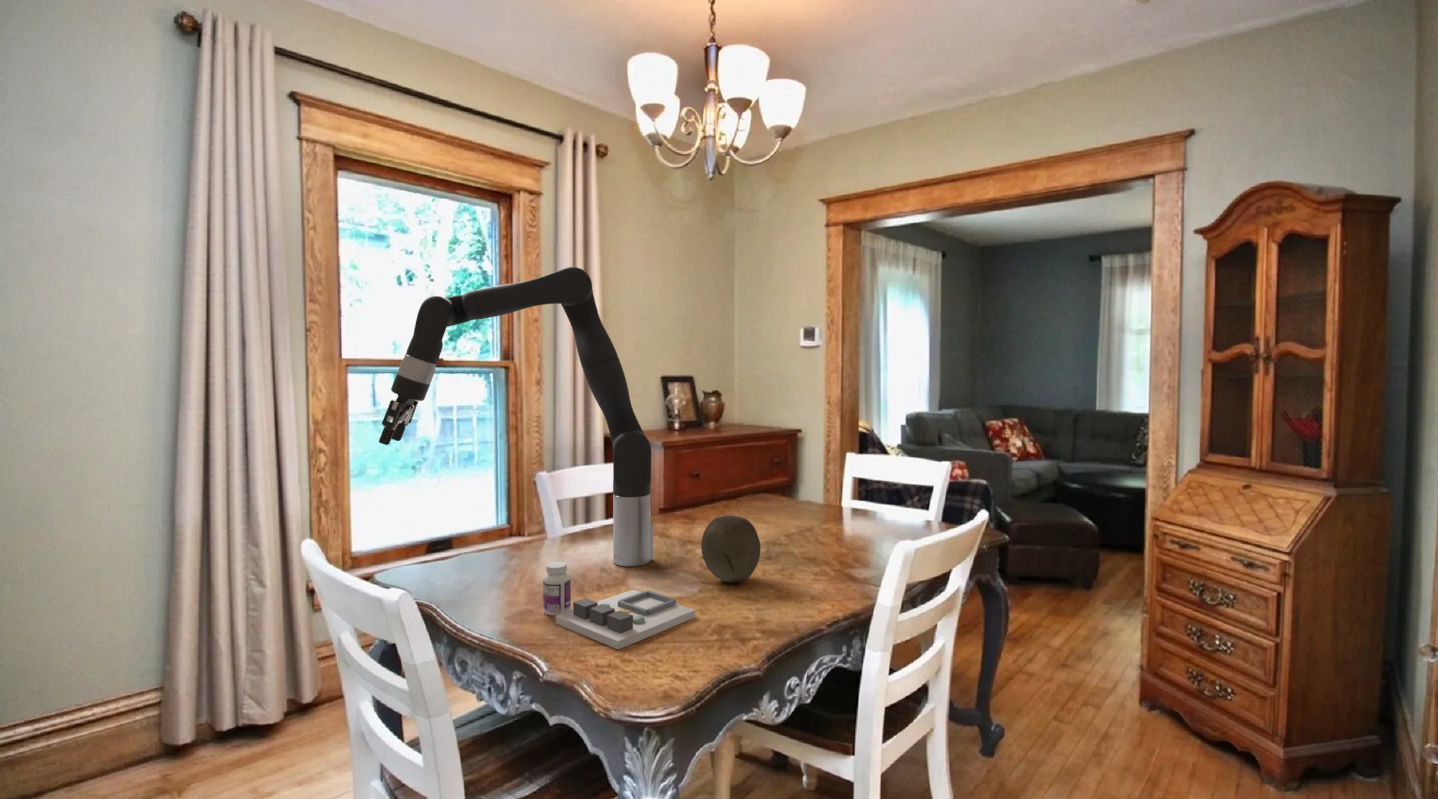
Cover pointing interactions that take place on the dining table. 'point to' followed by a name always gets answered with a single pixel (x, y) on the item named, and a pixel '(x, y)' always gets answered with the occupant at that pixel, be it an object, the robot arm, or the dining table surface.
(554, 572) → the pill bottle
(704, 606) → the dining table surface
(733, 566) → the dark grey rounded stone
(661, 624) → the board
